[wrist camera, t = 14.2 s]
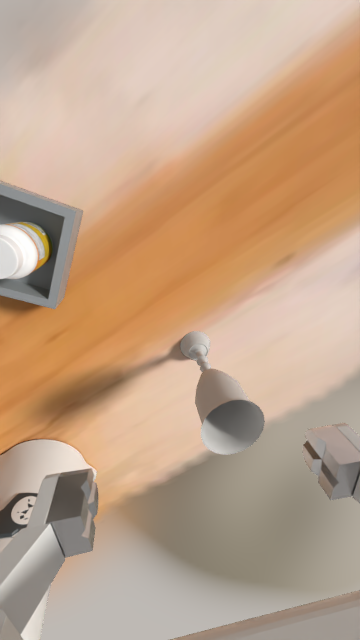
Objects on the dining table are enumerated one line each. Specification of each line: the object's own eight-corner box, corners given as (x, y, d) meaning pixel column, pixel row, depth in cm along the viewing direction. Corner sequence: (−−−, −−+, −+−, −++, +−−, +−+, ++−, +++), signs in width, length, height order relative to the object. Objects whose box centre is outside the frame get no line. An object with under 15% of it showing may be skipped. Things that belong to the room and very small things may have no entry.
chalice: (171, 329, 42) (197, 407, 25) (213, 321, 42) (264, 393, 26) (177, 367, 44) (203, 460, 28) (216, 360, 45) (264, 446, 29)
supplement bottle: (16, 268, 34) (-26, 290, 25) (-1, 224, 31) (-53, 230, 23) (59, 263, 34) (34, 282, 25) (46, 218, 32) (14, 223, 23)
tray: (63, 297, 37) (55, 309, 33) (-35, 271, 34) (-59, 280, 30) (83, 210, 33) (76, 211, 29) (-26, 171, 30) (-52, 165, 26)
